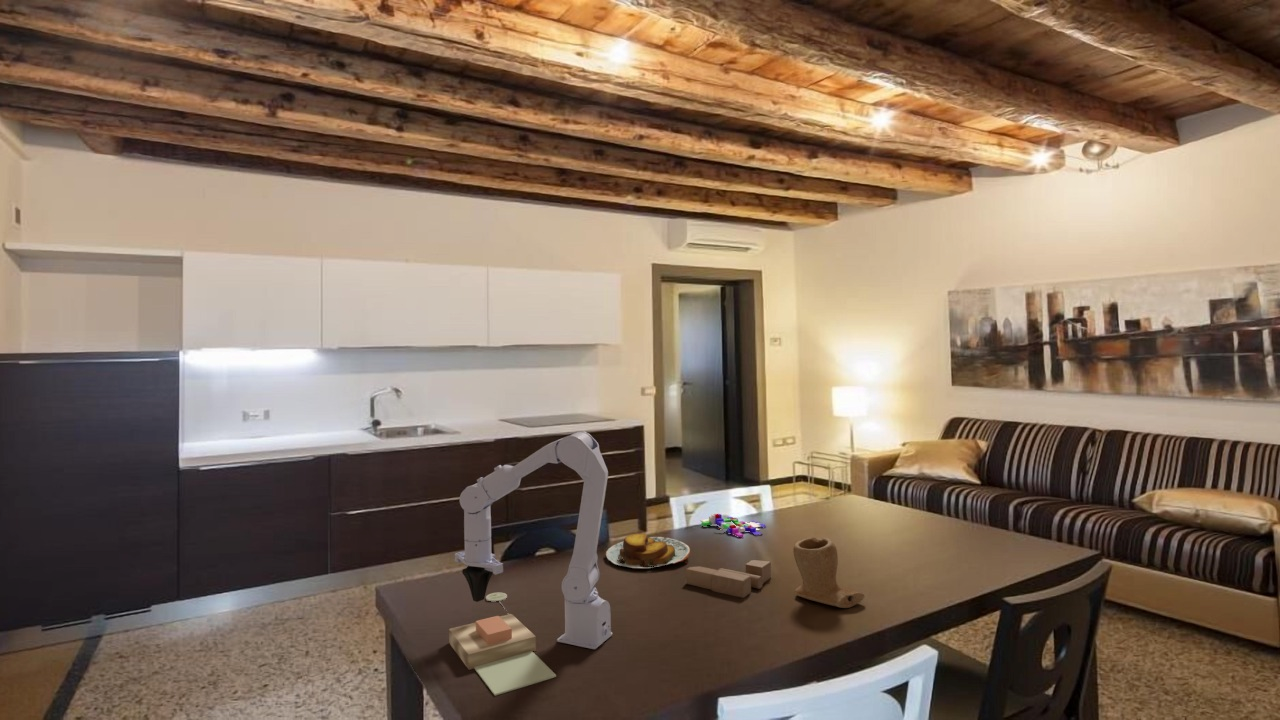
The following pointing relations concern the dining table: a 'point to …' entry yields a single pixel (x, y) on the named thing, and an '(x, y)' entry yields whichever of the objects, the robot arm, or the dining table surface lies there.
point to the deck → (480, 652)
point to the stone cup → (822, 574)
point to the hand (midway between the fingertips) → (478, 599)
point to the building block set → (732, 528)
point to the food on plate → (648, 551)
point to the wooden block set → (730, 578)
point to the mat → (514, 672)
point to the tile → (493, 630)
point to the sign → (496, 597)
